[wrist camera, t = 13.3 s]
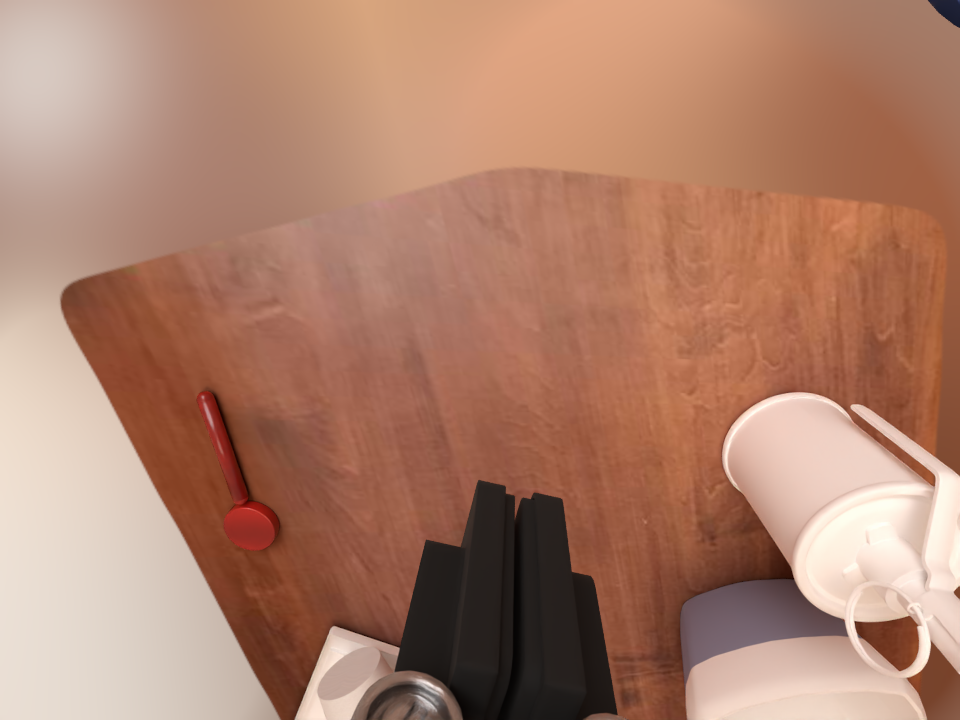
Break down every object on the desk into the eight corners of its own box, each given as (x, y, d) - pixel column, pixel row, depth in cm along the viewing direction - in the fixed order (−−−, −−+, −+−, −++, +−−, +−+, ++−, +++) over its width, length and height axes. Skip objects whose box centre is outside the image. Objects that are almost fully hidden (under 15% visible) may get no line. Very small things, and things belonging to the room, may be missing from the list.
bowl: (639, 579, 45) (675, 708, 34) (833, 540, 42) (936, 668, 31) (675, 703, 50) (716, 848, 39) (850, 675, 47) (944, 824, 36)
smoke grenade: (817, 511, 41) (1066, 810, 22) (701, 484, 41) (855, 764, 22) (885, 391, 37) (1256, 633, 18) (757, 361, 37) (1001, 575, 18)
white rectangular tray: (335, 615, 49) (282, 750, 55) (328, 633, 47) (274, 771, 53) (441, 651, 50) (378, 779, 56) (439, 670, 48) (373, 801, 54)
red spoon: (181, 391, 41) (171, 397, 40) (234, 385, 40) (226, 392, 39) (238, 544, 46) (231, 553, 45) (285, 541, 46) (279, 550, 45)
